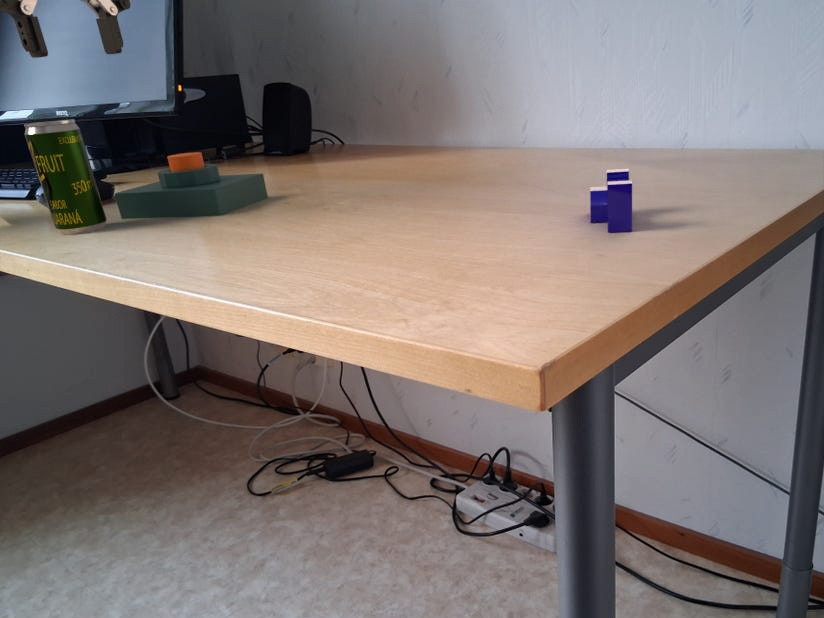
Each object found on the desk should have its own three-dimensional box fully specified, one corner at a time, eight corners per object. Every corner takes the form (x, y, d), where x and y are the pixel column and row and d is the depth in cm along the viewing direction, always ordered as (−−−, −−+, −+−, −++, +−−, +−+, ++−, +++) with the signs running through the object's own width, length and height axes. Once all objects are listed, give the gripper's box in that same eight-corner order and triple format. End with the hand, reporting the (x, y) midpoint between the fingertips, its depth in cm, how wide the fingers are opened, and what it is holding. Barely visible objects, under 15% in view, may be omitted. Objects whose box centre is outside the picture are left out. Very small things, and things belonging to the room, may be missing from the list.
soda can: (76, 226, 83) (43, 121, 79) (118, 223, 83) (87, 117, 78) (46, 237, 78) (9, 126, 74) (90, 234, 78) (56, 122, 73)
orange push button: (164, 174, 85) (160, 157, 85) (184, 169, 89) (180, 153, 88) (192, 173, 84) (188, 156, 84) (211, 168, 88) (207, 151, 87)
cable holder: (590, 213, 67) (590, 171, 65) (628, 211, 66) (628, 168, 64) (590, 233, 59) (589, 185, 58) (631, 231, 59) (632, 183, 57)
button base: (121, 219, 85) (109, 178, 83) (177, 201, 95) (168, 164, 93) (220, 216, 82) (210, 172, 80) (268, 198, 92) (260, 159, 90)
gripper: (74, -104, 77) (116, 56, 83) (-70, -125, 66) (-8, 61, 72) (115, -118, 73) (156, 50, 79) (-30, -143, 62) (32, 55, 68)
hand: (78, 55), depth 76 cm, fingers open, 8 cm apart
